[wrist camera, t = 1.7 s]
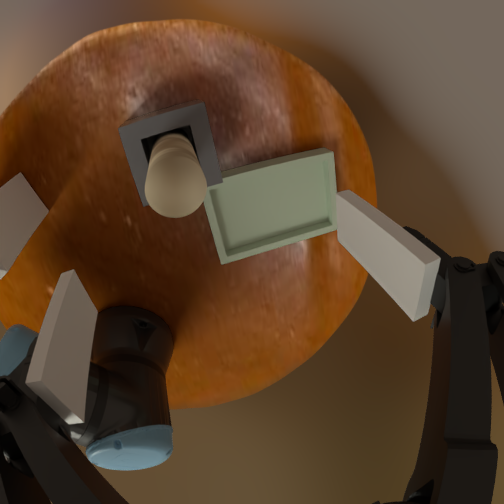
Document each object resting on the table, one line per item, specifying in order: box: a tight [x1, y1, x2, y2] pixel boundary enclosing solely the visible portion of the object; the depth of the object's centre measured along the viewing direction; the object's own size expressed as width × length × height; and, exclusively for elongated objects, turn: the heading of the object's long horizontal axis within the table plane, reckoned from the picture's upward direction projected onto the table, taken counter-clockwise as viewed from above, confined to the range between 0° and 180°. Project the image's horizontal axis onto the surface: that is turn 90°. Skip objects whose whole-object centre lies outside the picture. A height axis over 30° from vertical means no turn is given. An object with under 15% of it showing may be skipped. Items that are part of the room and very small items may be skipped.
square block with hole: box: [118, 99, 223, 207], centre depth 33 cm, size 9×9×7 cm
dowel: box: [145, 128, 207, 218], centre depth 28 cm, size 4×4×17 cm
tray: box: [203, 147, 337, 265], centre depth 43 cm, size 18×12×3 cm, turn 101°
